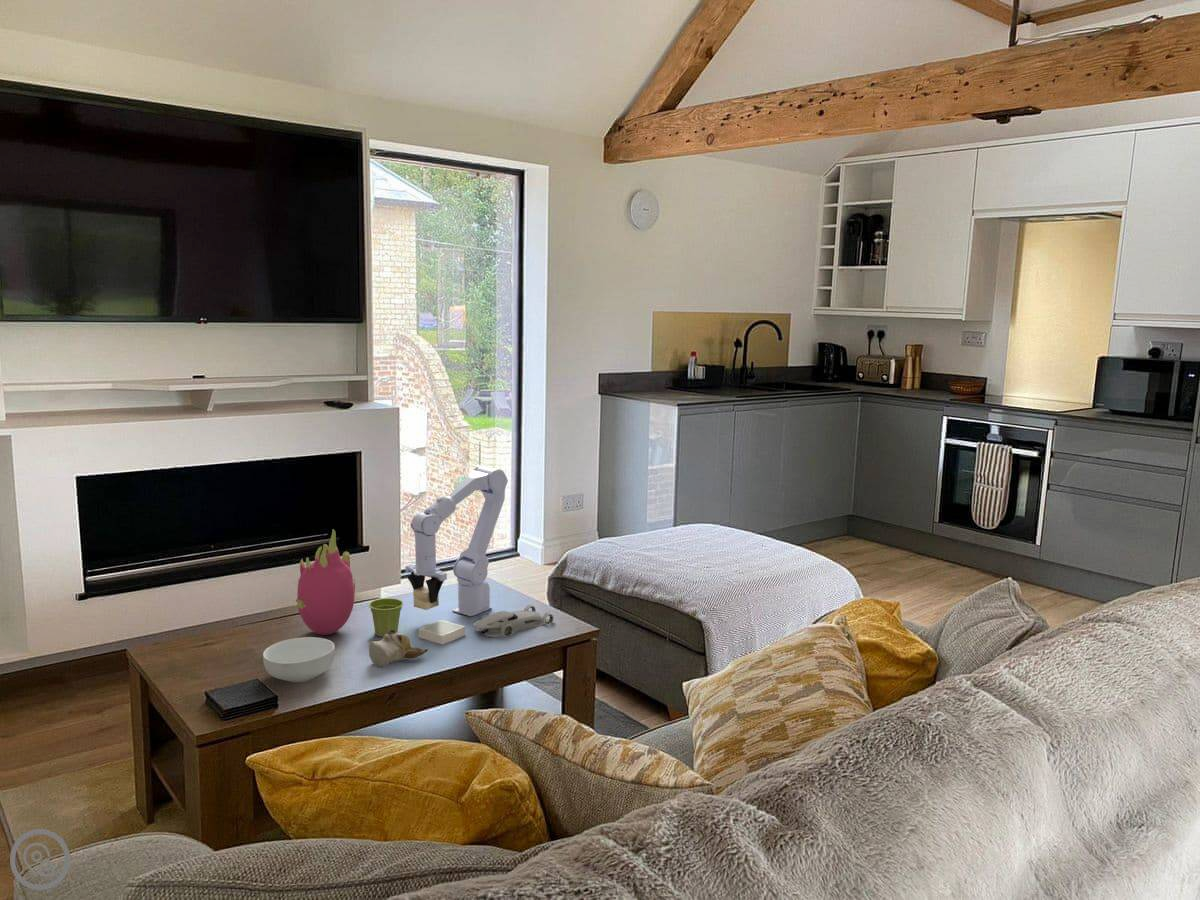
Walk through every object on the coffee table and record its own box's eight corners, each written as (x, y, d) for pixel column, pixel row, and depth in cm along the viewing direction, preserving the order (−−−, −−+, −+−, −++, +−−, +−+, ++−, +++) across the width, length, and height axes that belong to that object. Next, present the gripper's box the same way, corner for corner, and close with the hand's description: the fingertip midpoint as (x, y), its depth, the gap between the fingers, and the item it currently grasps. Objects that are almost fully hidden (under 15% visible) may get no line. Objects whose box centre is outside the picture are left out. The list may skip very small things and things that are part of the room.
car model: (556, 623, 262) (557, 607, 262) (487, 642, 246) (487, 625, 246) (533, 613, 271) (534, 597, 270) (465, 631, 255) (465, 614, 254)
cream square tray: (441, 628, 256) (441, 619, 255) (465, 635, 251) (465, 626, 250) (418, 637, 248) (418, 628, 248) (442, 644, 243) (442, 635, 243)
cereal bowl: (297, 658, 232) (296, 632, 231) (349, 669, 226) (348, 642, 225) (248, 683, 217) (247, 655, 216) (303, 695, 210) (302, 666, 209)
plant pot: (408, 628, 255) (407, 598, 254) (397, 640, 246) (397, 609, 245) (376, 626, 256) (375, 597, 255) (364, 638, 247) (363, 608, 246)
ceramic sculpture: (357, 630, 228) (404, 619, 240) (356, 663, 229) (403, 650, 241) (383, 641, 222) (430, 629, 233) (382, 675, 223) (429, 661, 234)
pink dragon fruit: (341, 619, 261) (338, 519, 256) (368, 631, 252) (366, 527, 248) (285, 635, 248) (281, 530, 243) (311, 648, 239) (308, 539, 234)
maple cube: (426, 601, 262) (425, 585, 261) (438, 605, 260) (438, 588, 259) (413, 606, 258) (413, 590, 257) (426, 610, 255) (425, 593, 255)
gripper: (397, 553, 257) (398, 598, 259) (434, 562, 249) (434, 608, 251) (415, 548, 263) (416, 592, 265) (451, 556, 255) (452, 602, 257)
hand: (426, 600), depth 259 cm, fingers closed on maple cube, 5 cm apart
